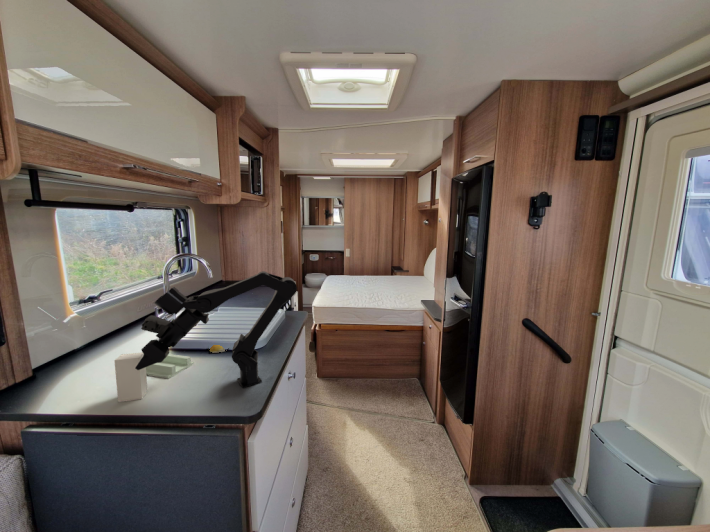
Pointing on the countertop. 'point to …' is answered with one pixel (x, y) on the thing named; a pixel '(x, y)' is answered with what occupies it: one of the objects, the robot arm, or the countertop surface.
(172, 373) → the tile rack
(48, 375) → the countertop surface
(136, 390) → the beige rectangular box
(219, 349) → the bread roll
